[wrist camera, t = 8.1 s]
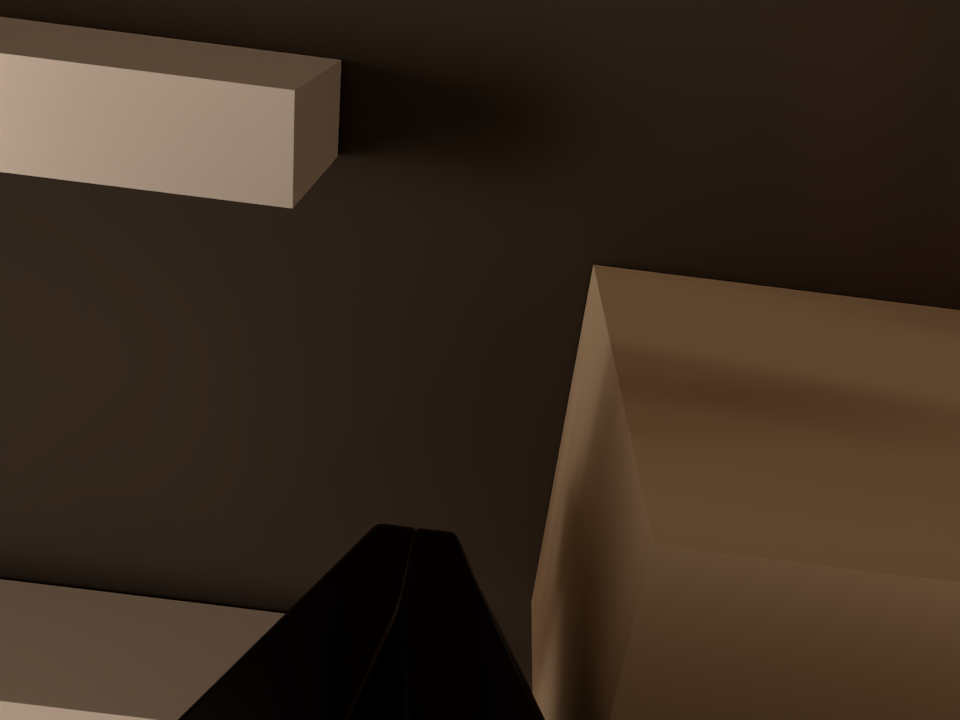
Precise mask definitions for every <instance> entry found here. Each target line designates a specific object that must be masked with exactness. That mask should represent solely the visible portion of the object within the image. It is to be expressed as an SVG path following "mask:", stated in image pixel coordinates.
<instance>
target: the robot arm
mask: <svg viewBox="0 0 960 720" xmlns="http://www.w3.org/2000/svg"><path fill="white" fill-rule="evenodd" d="M178 720H545V718H544V716H543V714H542V712H541V710H540V708H539V706H538V704H537V702H536V700H535V698H534V696H533V693H532V691H531V689H530V687H529V685H528V683H527V681H526V679H525V677H524V675H523V673H522V670H521V668H520V666H519V664H518V662H517V660H516V658H515V656H514V654H513V652H512V650H511V648H510V645H509V643H508V641H507V639H506V637H505V635H504V633H503V631H502V629H501V627H500V625H499V622H498V620H497V618H496V616H495V614H494V612H493V610H492V608H491V606H490V604H489V602H488V600H487V597H486V595H485V593H484V591H483V589H482V587H481V585H480V583H479V581H478V579H477V577H476V574H475V572H474V570H473V568H472V566H471V564H470V562H469V560H468V558H467V556H466V554H465V552H464V549H463V547H462V545H461V543H460V541H459V539H458V537H457V536H456V535H455V534H454V533H452V532H448V531H439V530H431V529H422V528H420V529H417V530H416V529H414V528H412V527H406V526H397V525H389V524H378V525H376V526H374V527H373V528H372V529H371V530H370V531H369V532H368V533H367V534H366V535H365V536H364V537H363V538H362V539H361V540H360V541H359V542H358V543H357V544H356V545H355V546H354V547H353V548H352V549H351V550H350V551H349V552H348V553H346V554H345V555H344V556H343V557H342V558H341V559H340V560H339V561H338V562H337V563H336V564H335V565H334V566H333V567H332V568H331V569H330V570H329V571H328V572H327V573H326V574H325V575H324V576H323V577H322V578H321V579H320V580H319V581H318V582H317V583H316V584H315V585H314V586H313V587H312V588H311V589H310V590H309V591H308V592H307V593H306V594H305V595H304V596H303V597H302V598H301V599H300V600H299V601H298V602H297V603H296V604H295V605H294V606H293V607H292V608H291V609H290V610H289V611H288V612H287V613H286V614H285V615H284V616H283V617H281V618H280V619H279V620H278V621H277V622H276V623H275V624H274V625H273V626H272V627H271V628H270V629H269V630H268V631H267V632H266V633H265V634H264V635H263V636H262V637H261V638H260V639H259V640H258V641H257V642H256V643H255V644H254V645H253V646H252V647H251V648H250V649H249V650H248V651H247V652H246V653H245V654H244V655H243V656H242V657H241V658H240V659H239V660H238V661H237V662H236V663H235V664H234V665H233V666H232V667H231V668H230V669H229V670H228V671H227V672H226V673H225V674H224V675H223V676H222V677H221V678H219V679H218V680H217V681H216V682H215V683H214V684H213V685H212V686H211V687H210V688H209V689H208V690H207V691H206V692H205V693H204V694H203V695H202V696H201V697H200V698H199V699H198V700H197V701H196V702H195V703H194V704H193V705H192V706H191V707H190V708H189V709H188V710H187V711H186V712H185V713H184V714H183V715H182V716H181V717H180V718H179V719H178Z"/></svg>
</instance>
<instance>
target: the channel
mask: <svg viewBox="0 0 960 720" xmlns="http://www.w3.org/2000/svg"><path fill="white" fill-rule="evenodd" d="M340 84H341V60H337V59H330V58H322V57H314V56H306V55H298V54H290V53H282V52H274V51H267V50H259V49H251V48H243V47H235V46H227V45H219V44H211V43H203V42H196V41H188V40H180V39H172V38H164V37H156V36H148V35H140V34H133V33H125V32H117V31H109V30H101V29H93V28H85V27H77V26H70V25H62V24H54V23H46V22H38V21H30V20H22V19H14V18H6V17H0V172H5V173H13V174H21V175H29V176H37V177H45V178H53V179H61V180H69V181H77V182H85V183H93V184H101V185H109V186H117V187H125V188H133V189H141V190H149V191H157V192H165V193H173V194H181V195H189V196H197V197H205V198H213V199H221V200H229V201H237V202H245V203H253V204H261V205H269V206H277V207H285V208H293V207H294V206H295V205H296V204H297V203H298V202H299V200H300V199H301V198H302V197H303V196H304V195H305V194H306V192H307V191H308V190H309V189H310V188H311V187H312V185H313V184H314V183H315V182H316V181H317V180H318V179H319V177H320V176H321V175H322V174H323V173H324V172H325V171H326V169H327V168H328V167H329V166H330V165H331V164H332V162H333V161H334V160H335V159H336V158H337V157H338V134H339V109H340ZM284 615H285V614H284V613H276V612H268V611H259V610H251V609H243V608H235V607H226V606H218V605H210V604H202V603H193V602H185V601H177V600H168V599H160V598H152V597H144V596H135V595H127V594H119V593H111V592H102V591H94V590H86V589H77V588H69V587H61V586H53V585H44V584H36V583H28V582H20V581H11V580H3V579H0V720H178V719H179V718H180V717H181V716H182V715H183V714H184V713H185V712H186V711H187V710H188V709H189V708H190V707H191V706H192V705H193V704H194V703H195V702H196V701H197V700H198V699H199V698H200V697H201V696H202V695H203V694H204V693H205V692H206V691H207V690H208V689H209V688H210V687H211V686H212V685H213V684H214V683H215V682H216V681H217V680H218V679H219V678H221V677H222V676H223V675H224V674H225V673H226V672H227V671H228V670H229V669H230V668H231V667H232V666H233V665H234V664H235V663H236V662H237V661H238V660H239V659H240V658H241V657H242V656H243V655H244V654H245V653H246V652H247V651H248V650H249V649H250V648H251V647H252V646H253V645H254V644H255V643H256V642H257V641H258V640H259V639H260V638H261V637H262V636H263V635H264V634H265V633H266V632H267V631H268V630H269V629H270V628H271V627H272V626H273V625H274V624H275V623H276V622H277V621H278V620H279V619H280V618H281V617H283V616H284Z"/></svg>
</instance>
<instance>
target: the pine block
mask: <svg viewBox="0 0 960 720" xmlns="http://www.w3.org/2000/svg"><path fill="white" fill-rule="evenodd" d="M531 605H532V689H533V696H534V698H535V700H536V702H537V704H538V706H539V708H540V710H541V712H542V714H543V716H544V718H545V720H960V310H954V309H946V308H938V307H930V306H922V305H914V304H906V303H898V302H890V301H882V300H874V299H865V298H857V297H849V296H841V295H833V294H825V293H817V292H809V291H801V290H793V289H785V288H777V287H769V286H761V285H753V284H745V283H737V282H729V281H721V280H712V279H704V278H696V277H688V276H680V275H672V274H664V273H656V272H648V271H640V270H632V269H624V268H616V267H608V266H600V265H593V269H592V275H591V280H590V286H589V291H588V297H587V302H586V308H585V313H584V319H583V324H582V329H581V335H580V340H579V346H578V351H577V357H576V362H575V368H574V373H573V378H572V384H571V389H570V395H569V400H568V406H567V411H566V417H565V422H564V428H563V433H562V438H561V444H560V449H559V455H558V460H557V466H556V471H555V477H554V482H553V487H552V493H551V498H550V504H549V509H548V515H547V520H546V526H545V531H544V536H543V542H542V547H541V553H540V558H539V564H538V569H537V575H536V580H535V586H534V591H533V596H532V602H531Z"/></svg>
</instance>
